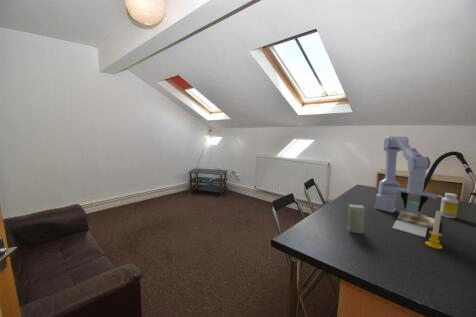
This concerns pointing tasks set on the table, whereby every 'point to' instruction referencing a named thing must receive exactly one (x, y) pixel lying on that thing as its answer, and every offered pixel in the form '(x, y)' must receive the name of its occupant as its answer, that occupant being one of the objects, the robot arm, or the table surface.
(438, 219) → the candle
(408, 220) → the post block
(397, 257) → the table surface
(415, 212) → the teal cube
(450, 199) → the supplement bottle
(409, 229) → the coaster
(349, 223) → the skincare box
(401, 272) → the table surface
